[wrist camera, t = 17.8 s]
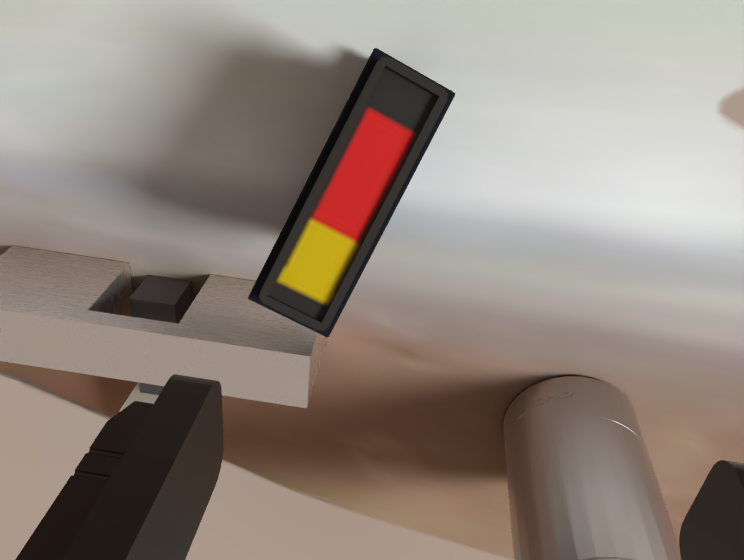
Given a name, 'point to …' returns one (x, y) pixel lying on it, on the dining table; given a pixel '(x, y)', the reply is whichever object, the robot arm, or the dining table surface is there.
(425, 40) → the dining table surface
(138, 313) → the plug
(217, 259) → the dining table surface
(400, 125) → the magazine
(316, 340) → the housing
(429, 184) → the dining table surface
